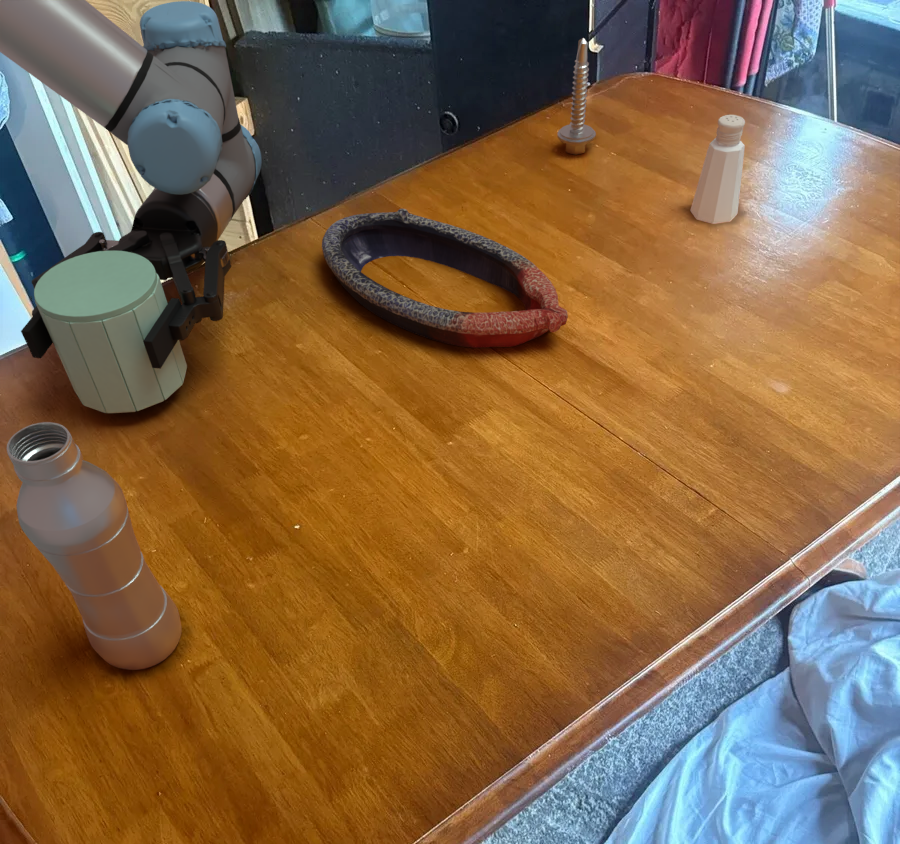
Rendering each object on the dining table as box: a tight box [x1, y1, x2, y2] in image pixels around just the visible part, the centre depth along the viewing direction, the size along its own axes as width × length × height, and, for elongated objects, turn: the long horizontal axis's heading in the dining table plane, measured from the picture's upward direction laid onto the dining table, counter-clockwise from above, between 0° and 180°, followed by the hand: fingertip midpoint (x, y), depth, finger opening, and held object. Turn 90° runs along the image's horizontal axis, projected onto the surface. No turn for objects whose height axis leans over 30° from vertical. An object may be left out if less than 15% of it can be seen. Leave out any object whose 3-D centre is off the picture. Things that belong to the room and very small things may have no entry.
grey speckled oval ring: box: [321, 208, 569, 349], centre depth 92 cm, size 16×31×5 cm, turn 47°
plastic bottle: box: [6, 421, 182, 671], centre depth 59 cm, size 6×7×20 cm
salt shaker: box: [690, 114, 746, 225], centre depth 99 cm, size 5×5×11 cm
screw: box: [557, 37, 597, 156], centre depth 110 cm, size 13×5×5 cm
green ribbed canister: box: [33, 251, 188, 414], centre depth 80 cm, size 10×10×10 cm
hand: (90, 350), depth 77 cm, fingers closed on green ribbed canister, 10 cm apart
